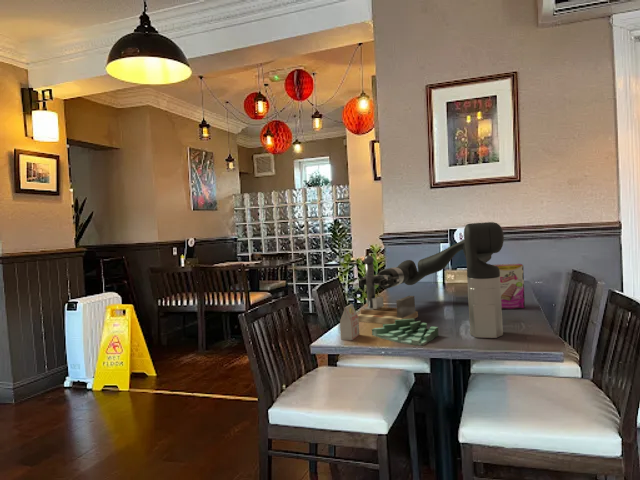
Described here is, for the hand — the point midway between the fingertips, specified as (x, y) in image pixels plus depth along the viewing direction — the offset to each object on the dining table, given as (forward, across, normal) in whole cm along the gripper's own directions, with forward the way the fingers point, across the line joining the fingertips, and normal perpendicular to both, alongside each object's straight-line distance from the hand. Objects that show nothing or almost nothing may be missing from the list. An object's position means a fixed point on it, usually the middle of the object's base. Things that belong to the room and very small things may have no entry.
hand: (370, 283), depth 173 cm
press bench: (0, +6, +13) cm, 14 cm away
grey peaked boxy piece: (+27, +8, +13) cm, 31 cm away
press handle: (0, +1, +11) cm, 11 cm away
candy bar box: (-33, +40, +13) cm, 53 cm away
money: (+20, +23, +14) cm, 33 cm away
